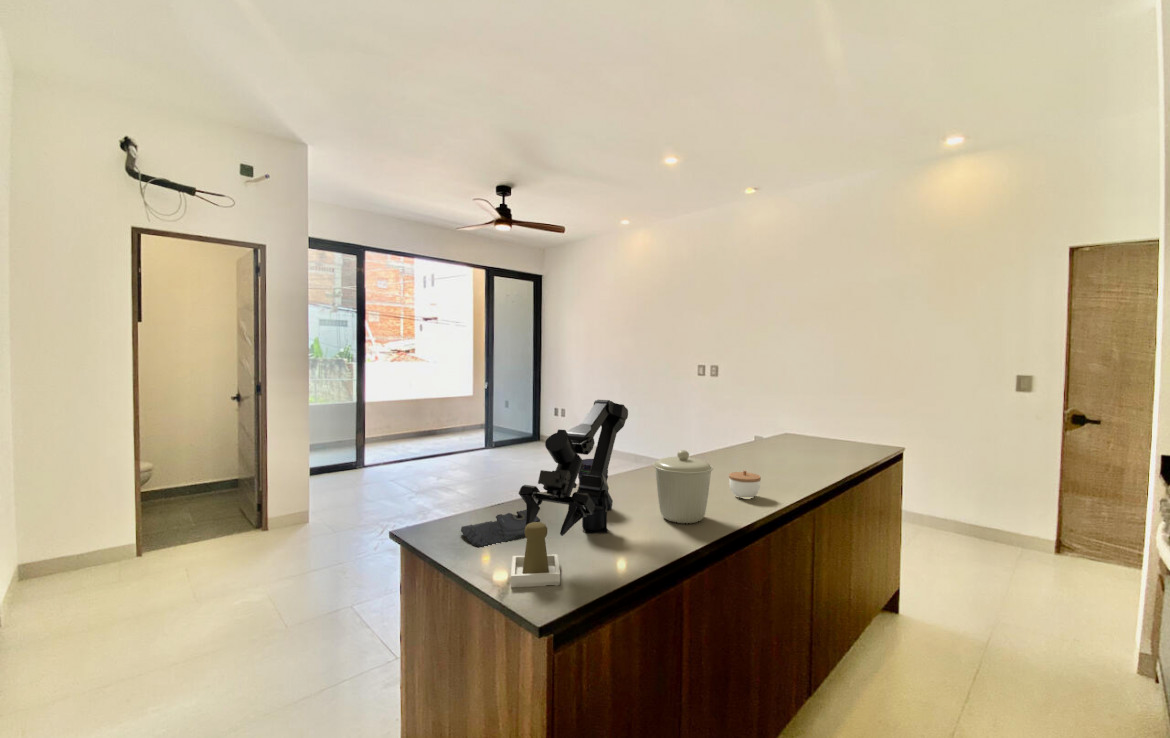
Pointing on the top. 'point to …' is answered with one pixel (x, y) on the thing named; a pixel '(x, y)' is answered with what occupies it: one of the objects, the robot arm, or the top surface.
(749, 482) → the lidded jar
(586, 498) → the robot arm
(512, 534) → the dark slate chunk
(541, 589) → the top surface
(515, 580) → the tray
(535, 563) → the olive brown pawn
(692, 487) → the canister
